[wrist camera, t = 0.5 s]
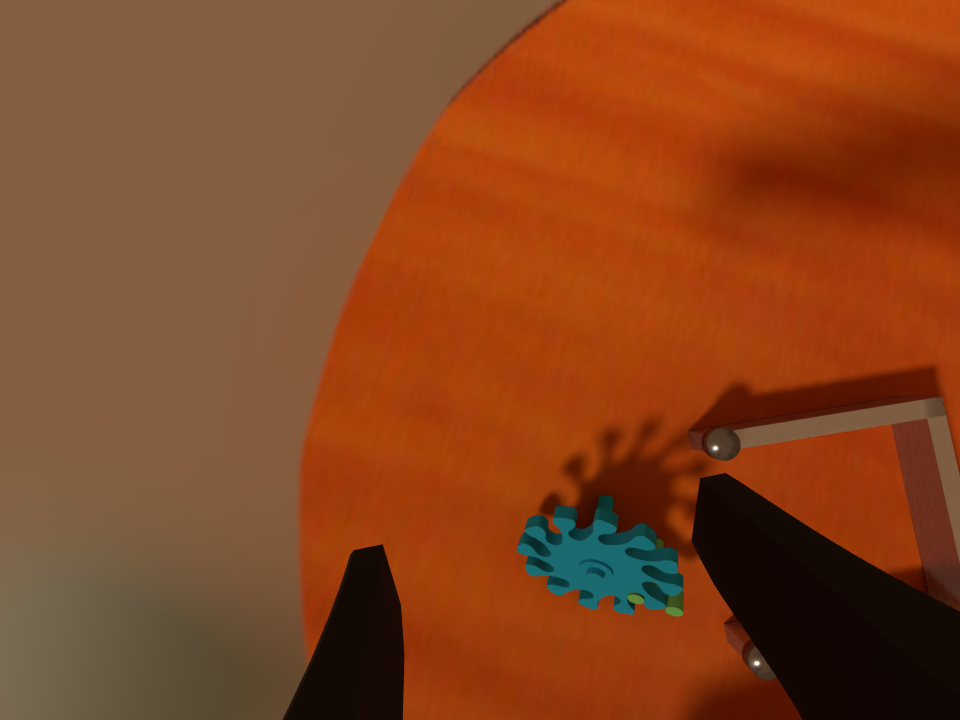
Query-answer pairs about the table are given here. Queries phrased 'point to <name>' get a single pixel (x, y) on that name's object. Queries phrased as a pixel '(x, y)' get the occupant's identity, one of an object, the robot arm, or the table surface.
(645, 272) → the table surface
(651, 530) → the teal cogwheel
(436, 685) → the table surface
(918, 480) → the frame
